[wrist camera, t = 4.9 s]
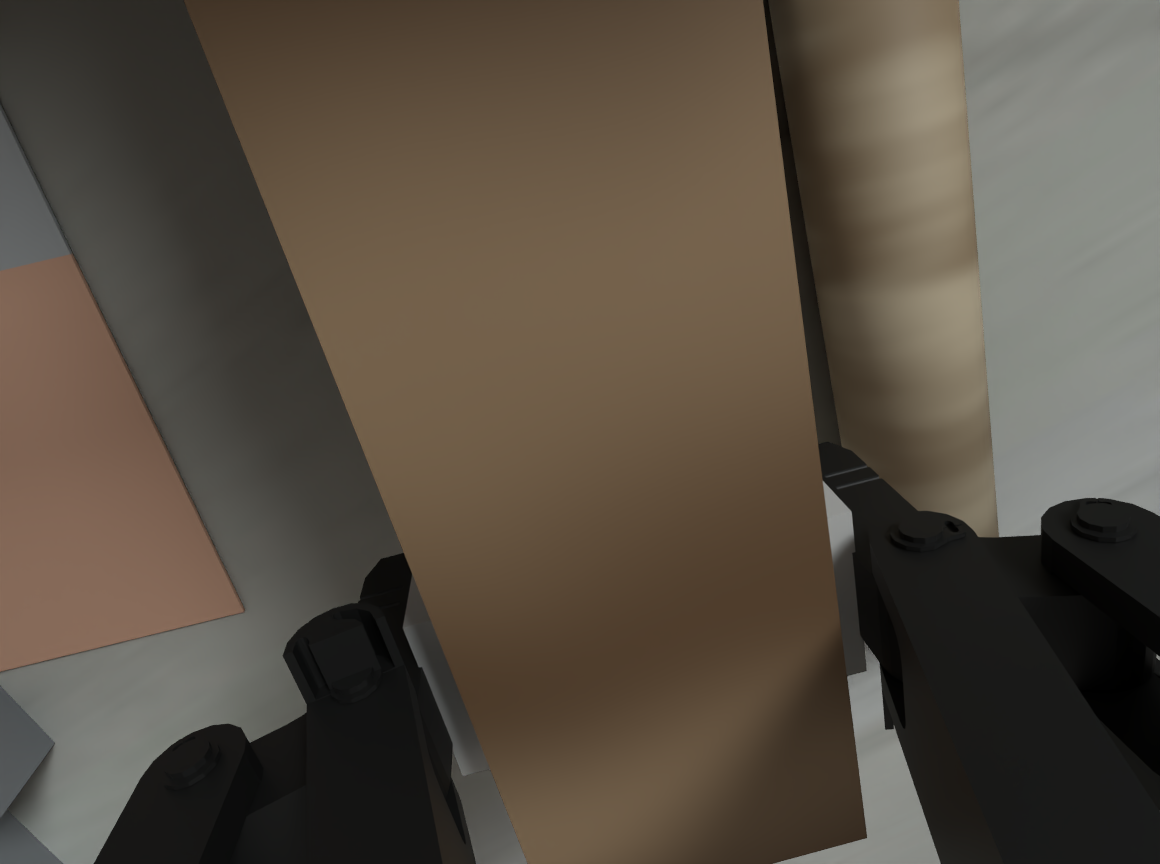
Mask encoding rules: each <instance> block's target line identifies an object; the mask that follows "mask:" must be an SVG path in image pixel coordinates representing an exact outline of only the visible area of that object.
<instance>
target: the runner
mask: <svg viewBox="0 0 1160 864" xmlns="http://www.w3.org/2000/svg"><path fill="white" fill-rule="evenodd" d="M244 611H245V609H244V607H243V605H242V602H241V600H240V598H239V596H238V594H237V592H236V590H235V588H234V586H233V584H232V582H231V580H230V578H229V576H228V574H227V571H226V569H225V567H224V565H223V563H222V561H221V559H220V557H219V555H218V553H217V551H216V549H215V547H214V545H213V543H212V540H211V538H210V536H209V534H208V532H207V530H206V528H205V526H204V524H203V522H202V520H201V518H200V516H199V514H198V511H197V509H196V507H195V505H194V503H193V501H192V499H191V497H190V495H189V493H188V491H187V489H186V487H185V485H184V483H183V480H182V478H181V476H180V474H179V472H178V470H177V468H176V466H175V464H174V462H173V460H172V458H171V456H170V454H169V451H168V449H167V447H166V445H165V443H164V441H163V439H162V437H161V435H160V433H159V431H158V429H157V427H156V425H155V423H154V420H153V418H152V416H151V414H150V412H149V410H148V408H147V406H146V404H145V402H144V400H143V398H142V396H141V394H140V392H139V389H138V387H137V385H136V383H135V381H134V379H133V377H132V375H131V373H130V371H129V369H128V367H127V365H126V363H125V360H124V358H123V356H122V354H121V352H120V350H119V348H118V346H117V344H116V342H115V340H114V338H113V336H112V334H111V332H110V329H109V327H108V325H107V323H106V321H105V319H104V317H103V315H102V313H101V311H100V309H99V307H98V305H97V303H96V300H95V298H94V296H93V294H92V292H91V290H90V288H89V286H88V284H87V282H86V280H85V278H84V276H83V274H82V272H81V269H80V267H79V265H78V263H77V261H76V259H75V257H74V255H73V253H72V251H71V249H70V247H69V245H68V243H67V241H66V238H65V236H64V234H63V232H62V230H61V228H60V226H59V224H58V222H57V220H56V218H55V216H54V214H53V212H52V209H51V207H50V205H49V203H48V201H47V199H46V197H45V195H44V193H43V191H42V189H41V187H40V185H39V183H38V181H37V178H36V176H35V174H34V172H33V170H32V168H31V166H30V164H29V162H28V160H27V158H26V156H25V154H24V152H23V149H22V147H21V145H20V143H19V141H18V139H17V137H16V135H15V133H14V131H13V129H12V127H11V125H10V123H9V121H8V118H7V116H6V114H5V112H4V110H3V108H2V106H1V104H0V672H1V671H5V670H9V669H13V668H17V667H21V666H25V665H29V664H34V663H38V662H42V661H46V660H50V659H54V658H58V657H62V656H66V655H70V654H74V653H78V652H83V651H87V650H91V649H95V648H99V647H103V646H107V645H111V644H115V643H119V642H123V641H128V640H132V639H136V638H140V637H144V636H148V635H152V634H156V633H160V632H164V631H168V630H173V629H177V628H181V627H185V626H189V625H193V624H197V623H201V622H205V621H209V620H213V619H218V618H222V617H226V616H230V615H234V614H238V613H242V612H244Z"/></svg>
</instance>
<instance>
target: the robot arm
mask: <svg viewBox="0 0 1160 864" xmlns="http://www.w3.org/2000/svg"><path fill="white" fill-rule="evenodd" d="M818 448H819V456H820V464H821V472H822V480H823V488H824V496H825V504H826V512H827V520H828V528H829V536H830V544H831V552H832V560H833V568H834V576H835V584H836V592H837V600H838V608H839V616H840V624H841V632H842V641H843V649H844V657H845V665H846V673H847V676H849V675H852V674H856V673H860V672H864V671H867V670H866V660H865V649H864V641H865V643H866V644H867V645H868V647H869V648H870V650H871V651H872V652H873V654H874V655H875V656H876V658H877V659H878V661H879V662H880V671H881V683H882V695H883V707H884V719H885V730H886V729H894V726H895V729H896V732H897V735H898V738H899V741H900V744H901V747H902V750H903V753H904V756H905V759H906V762H907V765H908V768H909V771H910V774H911V777H912V780H913V782H914V785H915V788H916V791H917V794H918V797H919V800H920V803H921V806H922V809H923V812H924V815H925V818H926V821H927V824H928V827H929V830H930V833H931V836H932V839H933V842H934V845H935V848H936V851H937V853H938V856H939V859H940V862H941V864H1160V660H1158V659H1157V658H1156V655H1158V656H1160V516H1158V515H1156V514H1155V513H1153V512H1150V511H1148V510H1146V509H1143V508H1141V507H1139V506H1136V505H1134V504H1130V503H1125V502H1120V501H1116V500H1112V499H1104V498H1098V499H1095V498H1084V499H1077V500H1071V501H1064V502H1062V503H1060V504H1057V505H1055V506H1053V507H1050V508H1049V509H1048V510H1047V511H1046V512H1045V514H1044V515H1043V516H1042V517H1041V535H1034V536H1016V537H978V536H977V534H976V533H975V531H974V530H973V529H972V528H971V527H969V526H968V525H967V524H966V523H965V522H964V521H962V520H960V519H958V518H955V517H953V516H950V515H948V514H944V513H938V512H932V511H918V510H916V509H915V508H914V507H913V506H912V505H911V504H910V503H909V502H908V501H907V500H905V499H904V498H903V497H902V496H901V495H900V494H899V493H898V492H897V491H896V490H894V489H893V488H892V487H891V486H890V485H889V484H888V483H887V482H886V481H885V480H883V479H882V478H879V475H878V474H877V473H876V472H875V471H874V470H872V469H871V468H870V467H867V464H866V463H865V462H864V461H863V460H861V459H860V458H859V457H858V456H857V455H856V454H855V453H854V452H853V451H851V450H849V449H846V448H843V447H840V446H838V445H835V444H832V443H830V442H825V443H821V444H818ZM360 599H361V600H360V601H359V602H358V603H353V604H348V605H344V606H341V607H337V608H333V609H331V610H329V611H327V612H325V613H323V614H321V615H319V616H317V617H315V618H313V619H312V620H311V621H309V622H308V623H307V624H305V625H304V626H303V627H301V628H300V629H299V630H298V631H297V632H296V633H295V634H294V636H293V637H292V638H291V639H290V640H289V642H288V643H287V645H286V648H285V651H284V654H283V657H284V659H285V661H286V663H287V665H288V667H289V669H290V671H291V673H292V675H293V677H294V679H295V681H296V684H297V686H298V688H299V690H300V692H301V694H302V696H303V698H304V700H305V702H306V704H307V713H305V714H304V715H303V716H301V717H299V718H298V719H296V720H294V721H292V722H291V723H289V724H287V725H285V726H283V727H281V728H279V729H277V730H275V731H273V732H271V733H269V734H267V735H265V736H263V737H261V738H259V739H257V740H255V741H253V742H251V743H249V741H248V740H247V738H246V736H245V734H244V732H243V731H242V729H241V728H240V727H237V726H234V725H231V724H221V725H212V726H209V727H206V728H204V729H201V730H198V731H196V732H193V733H191V734H189V735H187V736H185V737H183V739H180V740H178V741H177V742H176V743H174V744H173V745H171V746H170V747H169V748H168V749H167V750H166V751H164V752H163V753H162V754H161V755H160V756H159V757H158V758H157V759H155V760H154V761H153V763H152V764H151V765H150V767H149V768H148V769H147V771H146V772H145V773H144V775H143V776H142V777H141V779H140V781H139V782H138V784H137V786H136V788H135V790H134V792H133V793H132V795H131V797H130V799H129V801H128V802H127V804H126V806H125V808H124V810H123V812H122V813H121V815H120V817H119V819H118V821H117V822H116V824H115V826H114V828H113V830H112V832H111V833H110V835H109V837H108V839H107V841H106V842H105V844H104V846H103V848H102V850H101V852H100V853H99V855H98V857H97V859H96V861H95V862H94V864H476V862H475V858H474V854H473V849H472V845H471V841H470V837H469V833H468V829H467V824H466V820H465V816H464V812H463V808H462V803H461V800H460V797H459V795H458V792H457V790H456V788H455V785H454V783H453V780H452V778H451V765H452V751H453V753H454V756H455V758H456V761H457V763H458V766H459V768H460V770H461V773H462V775H463V776H465V775H469V774H473V773H477V772H481V771H485V770H488V769H490V768H489V765H488V763H487V760H486V758H485V755H484V752H483V750H482V747H481V745H480V742H479V740H478V737H477V735H476V732H475V730H474V727H473V725H472V722H471V720H470V717H469V715H468V712H467V710H466V707H465V705H464V702H463V700H462V697H461V695H460V692H459V690H458V687H457V685H456V682H455V680H454V677H453V675H452V672H451V670H450V667H449V665H448V662H447V660H446V657H445V655H444V652H443V650H442V647H441V645H440V642H439V640H438V637H437V635H436V632H435V630H434V627H433V625H432V622H431V620H430V617H429V615H428V612H427V610H426V607H425V605H424V602H423V600H422V597H421V595H420V592H419V590H418V587H417V585H416V582H415V579H414V577H413V574H412V572H411V569H410V567H409V564H408V562H407V559H406V557H405V554H404V553H402V554H398V555H394V556H390V557H386V558H383V559H381V560H380V561H379V562H378V563H377V565H376V566H375V567H374V568H373V569H372V571H371V572H370V573H369V574H368V575H367V577H366V578H365V581H364V584H363V588H362V592H361V595H360Z"/></svg>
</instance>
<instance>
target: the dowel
mask: <svg viewBox="0 0 1160 864" xmlns="http://www.w3.org/2000/svg"><path fill="white" fill-rule="evenodd" d="M768 3H769V9H770V15H771V21H772V27H773V33H774V39H775V45H776V51H777V57H778V64H779V70H780V76H781V82H782V88H783V94H784V100H785V106H786V112H787V118H788V124H789V130H790V136H791V142H792V148H793V154H794V160H795V166H796V172H797V178H798V185H799V191H800V197H801V203H802V209H803V215H804V221H805V227H806V233H807V239H808V245H809V251H810V257H811V263H812V269H813V275H814V281H815V287H816V293H817V299H818V305H819V312H820V318H821V324H822V330H823V336H824V342H825V348H826V354H827V360H828V366H829V372H830V378H831V384H832V390H833V396H834V402H835V408H836V414H837V420H838V426H839V433H840V439H841V445H842V447H843V448H846V449H849V450H851V451H853V452H854V453H855V454H856V455H857V456H858V457H859V458H860V459H861V460H863V461H864V462H865V463H866V464H867V467H870V468H871V469H872V470H874V471H875V472H876V473H877V474H878V475H879V478H882V479H883V480H885V481H886V482H887V483H888V484H889V485H890V486H891V487H892V488H893V489H894V490H896V491H897V492H898V493H899V494H900V495H901V496H902V497H903V498H904V499H905V500H907V501H908V502H909V503H910V504H911V505H912V506H913V507H914V508H915V509H916V510H918V511H932V512H938V513H944V514H948V515H950V516H953V517H955V518H958V519H960V520H962V521H964V522H965V523H966V524H967V525H968V526H969V527H971V528H972V529H973V530H974V531H975V533H976V534H977V536H978V537H999V532H998V519H997V505H996V492H995V479H994V465H993V452H992V439H991V425H990V412H989V399H988V385H987V372H986V359H985V345H984V332H983V319H982V306H981V292H980V279H979V266H978V252H977V239H976V226H975V212H974V199H973V186H972V172H971V159H970V146H969V132H968V119H967V106H966V92H965V79H964V66H963V52H962V39H961V26H960V12H959V0H768Z"/></svg>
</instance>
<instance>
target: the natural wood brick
mask: <svg viewBox="0 0 1160 864" xmlns="http://www.w3.org/2000/svg"><path fill="white" fill-rule="evenodd" d="M184 3H185V5H186V8H187V10H188V13H189V15H190V18H191V20H192V23H193V25H194V28H195V30H196V33H197V35H198V38H199V40H200V43H201V45H202V48H203V50H204V53H205V55H206V58H207V60H208V63H209V65H210V68H211V71H212V73H213V76H214V78H215V81H216V83H217V86H218V88H219V91H220V93H221V96H222V98H223V101H224V103H225V106H226V108H227V111H228V113H229V116H230V118H231V121H232V123H233V126H234V128H235V131H236V133H237V136H238V138H239V141H240V143H241V146H242V148H243V151H244V153H245V156H246V158H247V161H248V163H249V166H250V168H251V171H252V173H253V176H254V178H255V181H256V183H257V186H258V188H259V191H260V193H261V196H262V198H263V201H264V203H265V206H266V208H267V211H268V213H269V216H270V218H271V221H272V223H273V226H274V228H275V231H276V233H277V236H278V239H279V241H280V244H281V246H282V249H283V251H284V254H285V256H286V259H287V261H288V264H289V266H290V269H291V271H292V274H293V276H294V279H295V281H296V284H297V286H298V289H299V291H300V294H301V296H302V299H303V301H304V304H305V306H306V309H307V311H308V314H309V316H310V319H311V321H312V324H313V326H314V329H315V331H316V334H317V336H318V339H319V341H320V344H321V346H322V349H323V351H324V354H325V356H326V359H327V361H328V364H329V366H330V369H331V371H332V374H333V376H334V379H335V381H336V384H337V386H338V389H339V391H340V394H341V396H342V399H343V401H344V404H345V406H346V409H347V412H348V414H349V417H350V419H351V422H352V424H353V427H354V429H355V432H356V434H357V437H358V439H359V442H360V444H361V447H362V449H363V452H364V454H365V457H366V459H367V462H368V464H369V467H370V469H371V472H372V474H373V477H374V479H375V482H376V484H377V487H378V489H379V492H380V494H381V497H382V499H383V502H384V504H385V507H386V509H387V512H388V514H389V517H390V519H391V522H392V524H393V527H394V529H395V532H396V534H397V537H398V539H399V542H400V544H401V547H402V549H403V552H404V554H405V557H406V559H407V562H408V564H409V567H410V569H411V572H412V574H413V577H414V579H415V582H416V585H417V587H418V590H419V592H420V595H421V597H422V600H423V602H424V605H425V607H426V610H427V612H428V615H429V617H430V620H431V622H432V625H433V627H434V630H435V632H436V635H437V637H438V640H439V642H440V645H441V647H442V650H443V652H444V655H445V657H446V660H447V662H448V665H449V667H450V670H451V672H452V675H453V677H454V680H455V682H456V685H457V687H458V690H459V692H460V695H461V697H462V700H463V702H464V705H465V707H466V710H467V712H468V715H469V717H470V720H471V722H472V725H473V727H474V730H475V732H476V735H477V737H478V740H479V742H480V745H481V747H482V750H483V752H484V755H485V758H486V760H487V763H488V765H489V768H490V770H491V773H492V775H493V778H494V780H495V783H496V785H497V788H498V790H499V793H500V795H501V798H502V800H503V803H504V805H505V808H506V810H507V813H508V815H509V818H510V820H511V823H512V825H513V828H514V830H515V833H516V835H517V838H518V840H519V843H520V845H521V848H522V850H523V853H524V855H525V858H526V860H527V863H528V864H773V863H777V862H780V861H784V860H788V859H791V858H795V857H799V856H802V855H806V854H810V853H813V852H817V851H821V850H824V849H828V848H832V847H835V846H839V845H843V844H846V843H850V842H854V841H858V840H861V839H865V838H867V833H866V825H865V817H864V809H863V801H862V793H861V785H860V777H859V769H858V761H857V753H856V745H855V737H854V729H853V721H852V713H851V705H850V697H849V689H848V681H847V673H846V665H845V657H844V649H843V641H842V632H841V624H840V616H839V608H838V600H837V592H836V584H835V576H834V568H833V560H832V552H831V544H830V536H829V528H828V520H827V512H826V504H825V496H824V488H823V480H822V472H821V464H820V456H819V448H818V439H817V431H816V423H815V415H814V407H813V399H812V391H811V383H810V375H809V367H808V359H807V351H806V343H805V335H804V327H803V319H802V311H801V303H800V295H799V287H798V279H797V271H796V263H795V255H794V247H793V238H792V230H791V222H790V214H789V206H788V198H787V190H786V182H785V174H784V166H783V158H782V150H781V142H780V134H779V126H778V118H777V110H776V102H775V94H774V86H773V78H772V70H771V62H770V54H769V45H768V37H767V29H766V21H765V13H764V5H763V0H184Z"/></svg>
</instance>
